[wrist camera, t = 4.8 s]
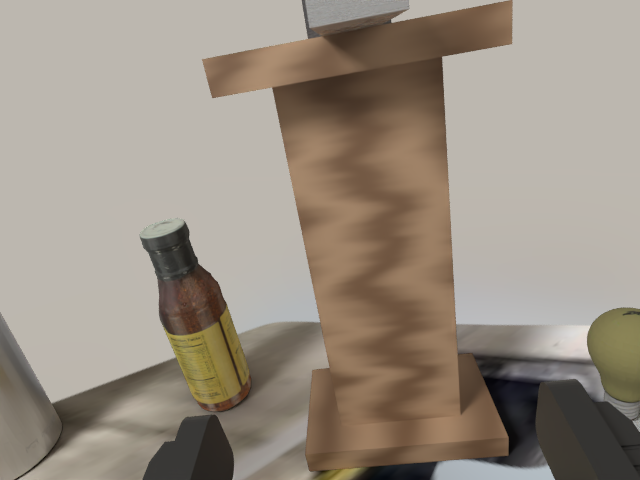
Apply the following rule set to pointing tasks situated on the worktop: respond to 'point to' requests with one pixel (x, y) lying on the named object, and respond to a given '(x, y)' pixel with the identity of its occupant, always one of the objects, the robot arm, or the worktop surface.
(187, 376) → the sauce bottle
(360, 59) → the stand
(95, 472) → the worktop surface
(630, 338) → the light bulb
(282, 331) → the worktop surface
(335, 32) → the grey metal bar
